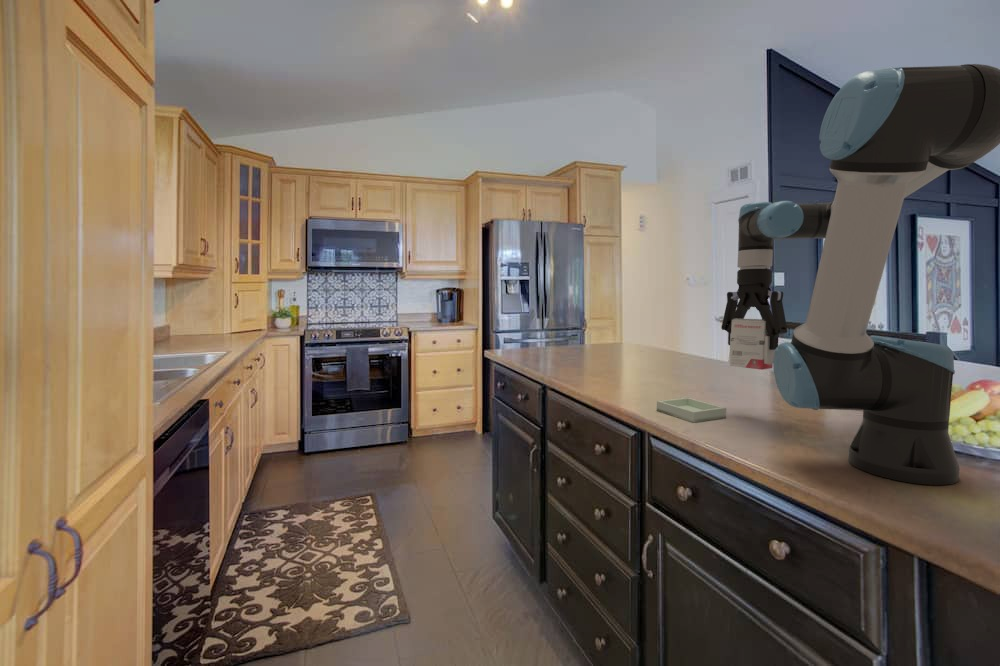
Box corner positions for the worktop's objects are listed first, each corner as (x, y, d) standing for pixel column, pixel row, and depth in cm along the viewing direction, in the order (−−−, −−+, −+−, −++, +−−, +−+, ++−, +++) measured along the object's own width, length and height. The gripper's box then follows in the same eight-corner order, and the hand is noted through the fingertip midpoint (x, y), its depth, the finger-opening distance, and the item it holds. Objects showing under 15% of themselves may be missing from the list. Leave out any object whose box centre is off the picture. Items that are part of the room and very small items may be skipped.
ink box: (774, 368, 118) (776, 319, 117) (763, 370, 116) (765, 319, 115) (739, 364, 125) (741, 318, 125) (728, 366, 123) (729, 318, 122)
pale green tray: (725, 417, 121) (726, 407, 121) (693, 422, 117) (693, 412, 117) (687, 406, 133) (687, 397, 133) (656, 410, 128) (656, 401, 128)
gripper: (808, 266, 110) (804, 365, 112) (728, 271, 130) (725, 355, 132) (786, 265, 107) (782, 367, 109) (707, 270, 127) (704, 356, 129)
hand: (751, 360), depth 120 cm, fingers closed on ink box, 9 cm apart
